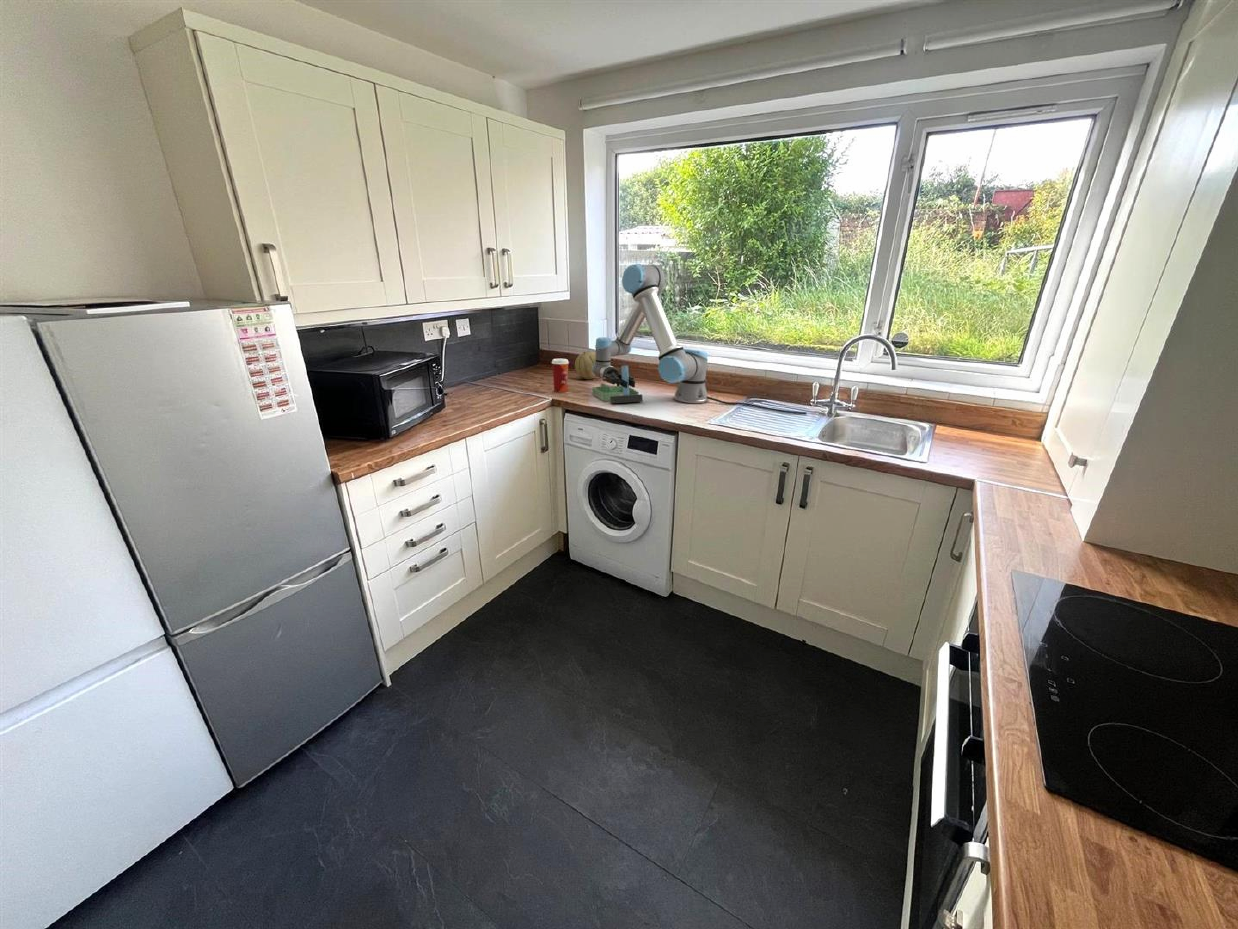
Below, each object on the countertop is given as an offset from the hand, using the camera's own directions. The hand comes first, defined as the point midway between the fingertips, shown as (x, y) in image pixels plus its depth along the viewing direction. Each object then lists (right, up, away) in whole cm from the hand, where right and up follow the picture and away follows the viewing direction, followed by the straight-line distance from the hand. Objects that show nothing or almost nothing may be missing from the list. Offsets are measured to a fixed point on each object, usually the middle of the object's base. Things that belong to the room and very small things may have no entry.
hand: (630, 384), depth 217 cm
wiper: (-2, -7, +6) cm, 9 cm away
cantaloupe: (-21, +11, +52) cm, 57 cm away
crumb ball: (-3, -4, +9) cm, 11 cm away
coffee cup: (-33, +1, +24) cm, 41 cm away
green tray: (-9, -1, +21) cm, 23 cm away
